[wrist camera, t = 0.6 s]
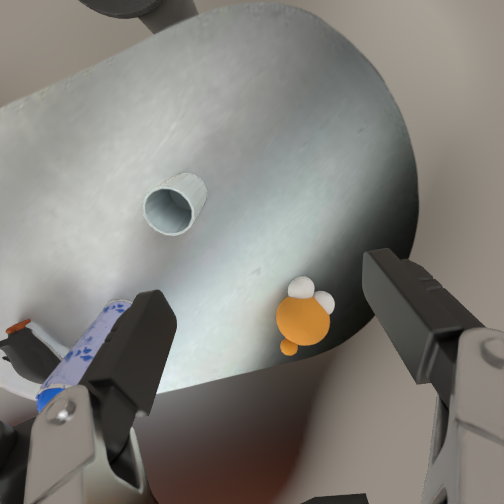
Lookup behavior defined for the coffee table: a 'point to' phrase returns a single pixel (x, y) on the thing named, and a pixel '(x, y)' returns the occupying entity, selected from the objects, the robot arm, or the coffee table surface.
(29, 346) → the figurine
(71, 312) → the coffee table surface
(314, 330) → the toy
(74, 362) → the aerosol can
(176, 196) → the plastic cup
